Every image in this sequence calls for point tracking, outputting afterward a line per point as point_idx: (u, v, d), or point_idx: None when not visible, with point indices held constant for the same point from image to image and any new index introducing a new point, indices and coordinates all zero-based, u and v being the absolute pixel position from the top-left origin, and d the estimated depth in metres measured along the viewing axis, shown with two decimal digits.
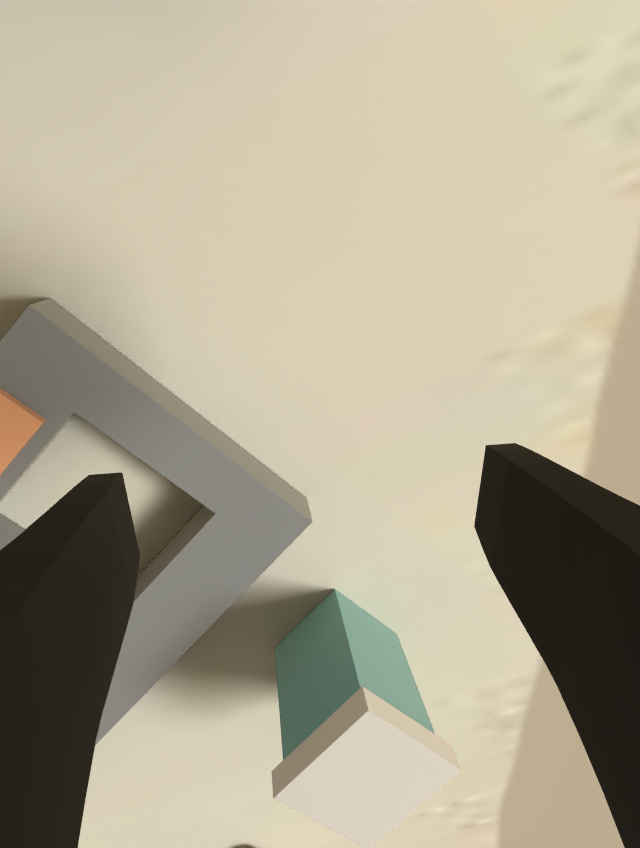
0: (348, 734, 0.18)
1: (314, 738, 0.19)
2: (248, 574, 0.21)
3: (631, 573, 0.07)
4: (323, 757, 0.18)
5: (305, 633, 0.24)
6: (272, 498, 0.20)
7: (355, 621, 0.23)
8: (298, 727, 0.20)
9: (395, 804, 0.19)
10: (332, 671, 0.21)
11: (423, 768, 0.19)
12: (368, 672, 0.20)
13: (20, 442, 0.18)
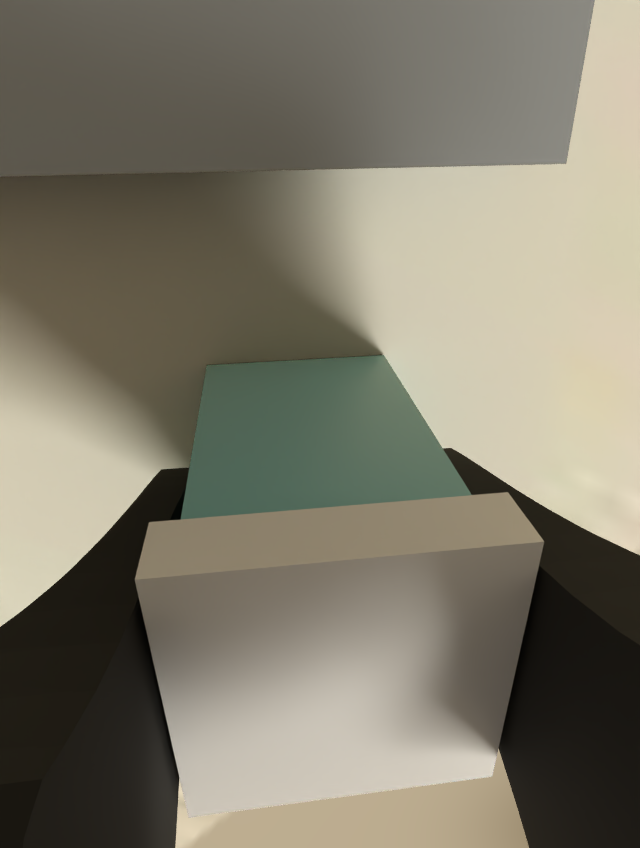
0: (449, 562, 0.06)
1: (325, 519, 0.07)
2: (377, 141, 0.09)
3: None
4: (345, 571, 0.06)
5: (295, 374, 0.12)
6: (575, 32, 0.08)
7: None
8: (248, 486, 0.08)
9: (334, 764, 0.08)
10: (372, 443, 0.09)
11: (454, 733, 0.08)
12: None
13: None
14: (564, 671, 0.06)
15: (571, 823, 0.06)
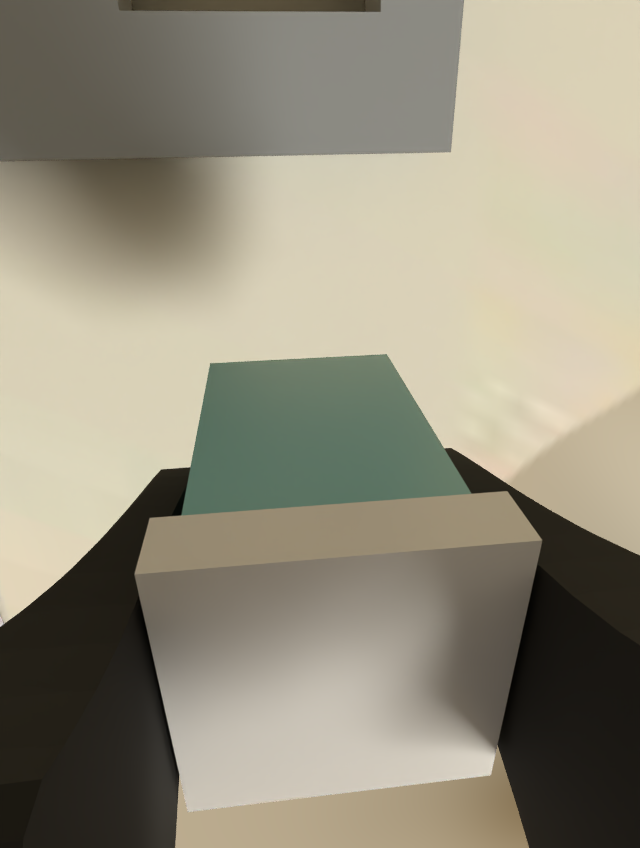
0: (447, 560, 0.06)
1: (324, 516, 0.07)
2: (329, 138, 0.14)
3: None
4: (343, 567, 0.06)
5: (298, 373, 0.12)
6: (449, 71, 0.14)
7: None
8: (249, 483, 0.08)
9: (333, 761, 0.08)
10: (374, 442, 0.09)
11: (453, 731, 0.08)
12: None
13: None
14: (564, 671, 0.06)
15: (571, 823, 0.06)
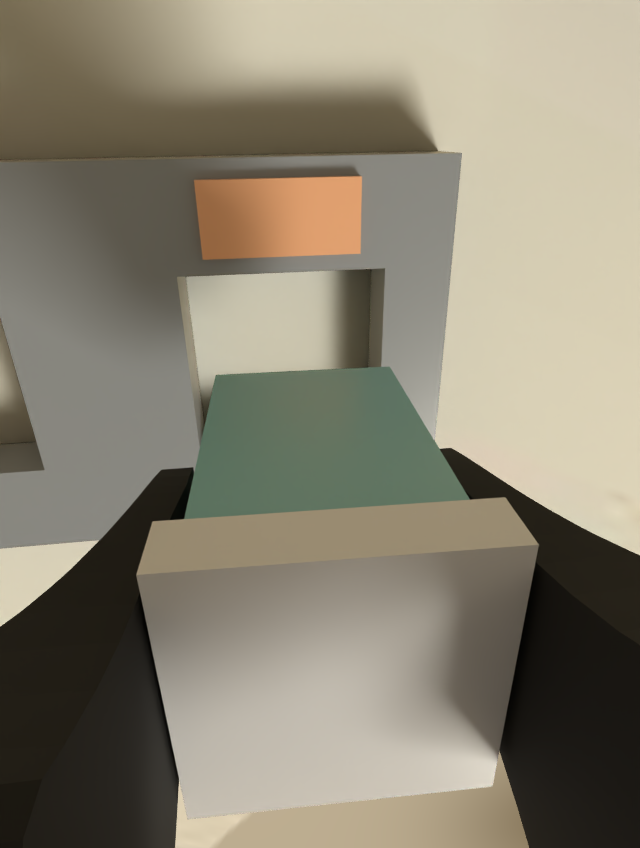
0: (445, 563, 0.06)
1: (323, 521, 0.07)
2: None
3: (533, 583, 0.07)
4: (341, 570, 0.06)
5: (302, 384, 0.12)
6: None
7: None
8: (251, 490, 0.08)
9: (333, 769, 0.08)
10: (375, 450, 0.09)
11: (453, 739, 0.08)
12: None
13: (324, 249, 0.15)
14: (564, 671, 0.06)
15: (571, 823, 0.06)
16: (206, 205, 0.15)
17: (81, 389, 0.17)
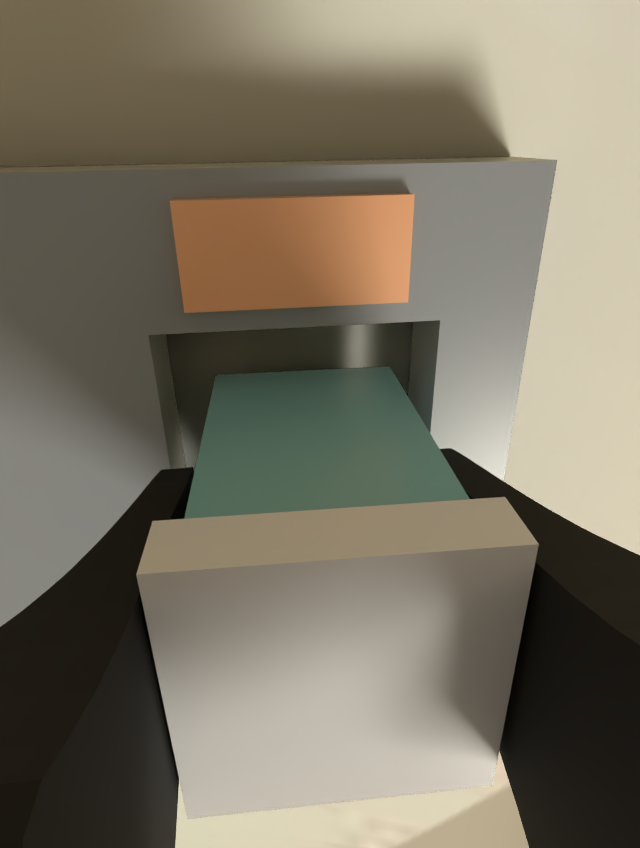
0: (445, 563, 0.06)
1: (323, 520, 0.07)
2: None
3: (533, 583, 0.07)
4: (341, 570, 0.06)
5: (302, 384, 0.12)
6: None
7: None
8: (251, 489, 0.08)
9: (333, 768, 0.08)
10: (374, 450, 0.09)
11: (453, 739, 0.08)
12: None
13: (357, 297, 0.11)
14: (564, 671, 0.06)
15: (571, 823, 0.06)
16: (188, 237, 0.10)
17: (19, 484, 0.12)
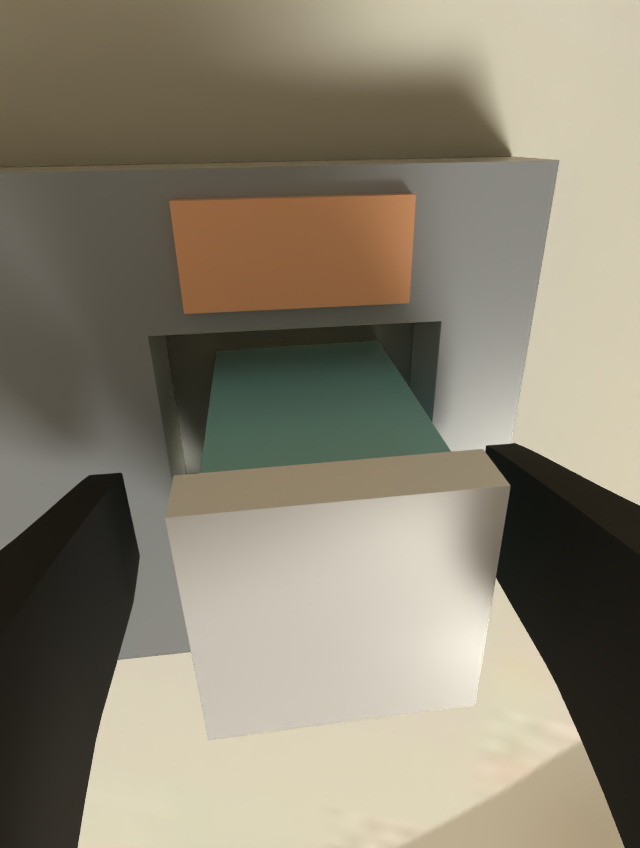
0: (430, 503, 0.07)
1: (324, 472, 0.08)
2: None
3: (631, 573, 0.07)
4: (341, 511, 0.07)
5: (297, 357, 0.13)
6: None
7: None
8: (258, 449, 0.09)
9: (335, 691, 0.09)
10: (367, 413, 0.10)
11: (440, 663, 0.09)
12: None
13: (358, 297, 0.11)
14: None
15: None
16: (188, 237, 0.10)
17: (18, 486, 0.12)
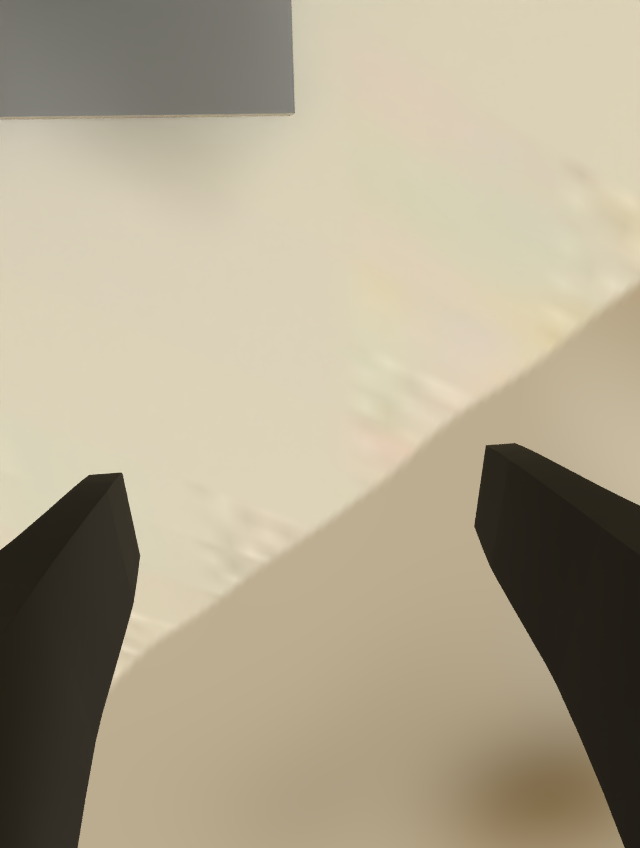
0: None
1: None
2: (166, 97, 0.14)
3: (631, 574, 0.07)
4: None
5: None
6: (283, 28, 0.13)
7: None
8: None
9: None
10: None
11: None
12: None
13: None
14: None
15: None
16: None
17: None
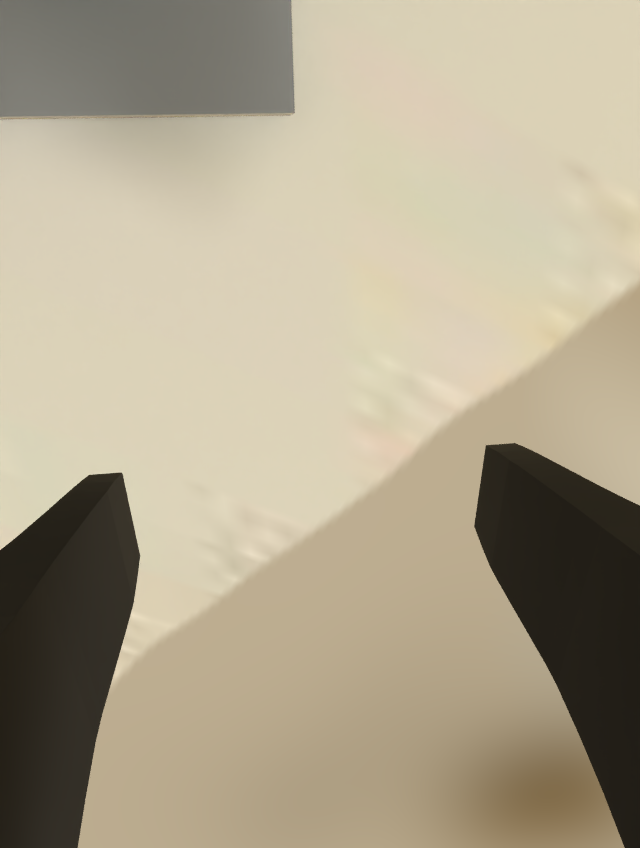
0: None
1: None
2: (165, 97, 0.14)
3: (631, 573, 0.07)
4: None
5: None
6: (282, 28, 0.13)
7: None
8: None
9: None
10: None
11: None
12: None
13: None
14: None
15: None
16: None
17: None
